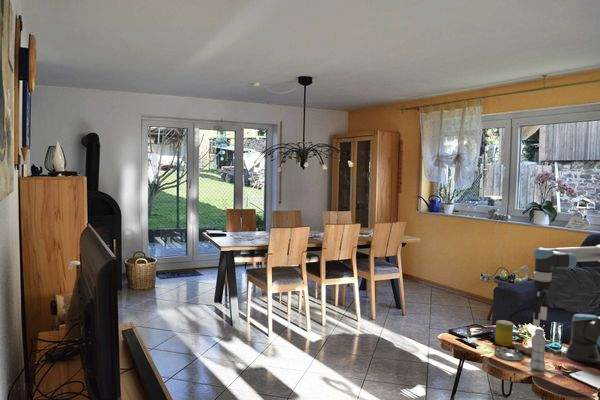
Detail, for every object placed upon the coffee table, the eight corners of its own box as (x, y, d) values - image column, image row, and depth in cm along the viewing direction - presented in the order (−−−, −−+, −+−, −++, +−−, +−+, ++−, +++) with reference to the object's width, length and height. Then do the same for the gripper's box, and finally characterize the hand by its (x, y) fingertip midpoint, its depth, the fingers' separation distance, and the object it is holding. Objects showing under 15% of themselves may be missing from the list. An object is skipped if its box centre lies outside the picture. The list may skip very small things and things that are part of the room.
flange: (526, 355, 250) (526, 352, 250) (518, 363, 239) (519, 359, 239) (499, 348, 259) (499, 345, 259) (490, 355, 248) (491, 352, 248)
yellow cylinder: (512, 347, 262) (513, 326, 261) (495, 344, 265) (496, 323, 265) (511, 341, 271) (512, 321, 270) (494, 339, 274) (495, 319, 273)
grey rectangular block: (536, 355, 251) (537, 347, 250) (534, 357, 247) (534, 349, 247) (516, 350, 257) (517, 342, 257) (514, 352, 254) (514, 344, 253)
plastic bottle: (544, 373, 227) (546, 333, 226) (528, 370, 231) (531, 330, 230) (545, 369, 233) (547, 329, 232) (530, 366, 236) (532, 327, 235)
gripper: (540, 274, 241) (537, 315, 242) (527, 282, 222) (524, 326, 223) (556, 277, 236) (554, 318, 238) (544, 285, 217) (541, 330, 219)
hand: (539, 322), depth 231 cm, fingers open, 13 cm apart
